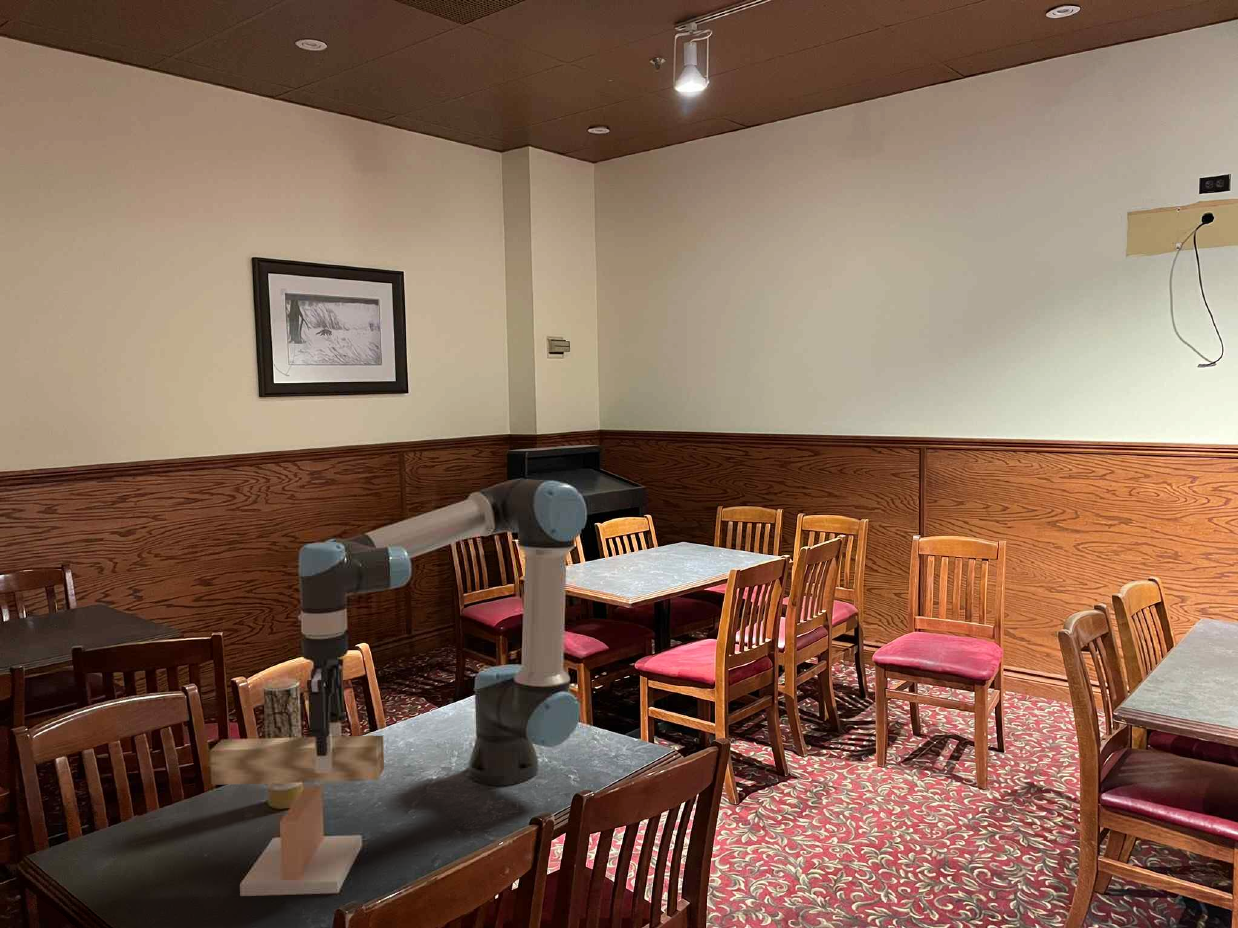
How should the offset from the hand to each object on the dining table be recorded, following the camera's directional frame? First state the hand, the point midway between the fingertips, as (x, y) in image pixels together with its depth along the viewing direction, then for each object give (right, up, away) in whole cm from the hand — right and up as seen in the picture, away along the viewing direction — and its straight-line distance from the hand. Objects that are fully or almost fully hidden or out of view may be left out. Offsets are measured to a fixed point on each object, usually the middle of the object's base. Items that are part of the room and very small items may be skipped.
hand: (329, 765), depth 158 cm
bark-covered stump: (-18, -17, +28) cm, 37 cm away
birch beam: (-5, -2, 0) cm, 5 cm away
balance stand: (-5, -19, +1) cm, 19 cm away
